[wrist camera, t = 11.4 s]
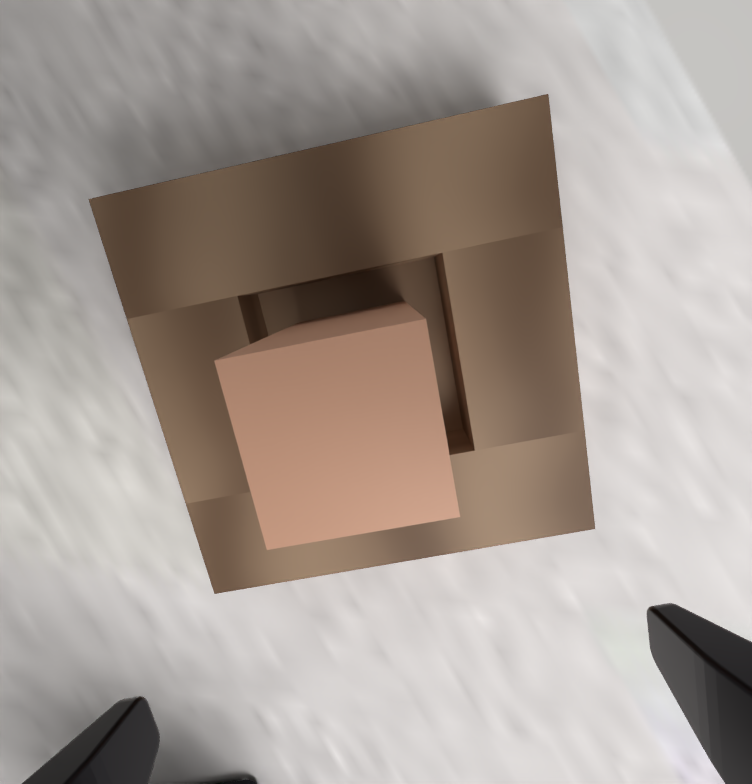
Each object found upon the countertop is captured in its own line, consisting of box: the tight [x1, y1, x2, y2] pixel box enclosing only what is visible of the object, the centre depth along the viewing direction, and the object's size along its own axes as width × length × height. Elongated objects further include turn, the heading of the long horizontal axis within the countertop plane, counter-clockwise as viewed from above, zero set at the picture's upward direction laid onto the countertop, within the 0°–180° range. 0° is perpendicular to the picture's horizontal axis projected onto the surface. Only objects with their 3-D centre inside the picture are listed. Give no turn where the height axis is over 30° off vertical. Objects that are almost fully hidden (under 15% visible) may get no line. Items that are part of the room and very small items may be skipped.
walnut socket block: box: [89, 94, 595, 594], centre depth 17 cm, size 14×14×4 cm
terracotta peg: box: [214, 301, 460, 550], centre depth 13 cm, size 4×4×9 cm
